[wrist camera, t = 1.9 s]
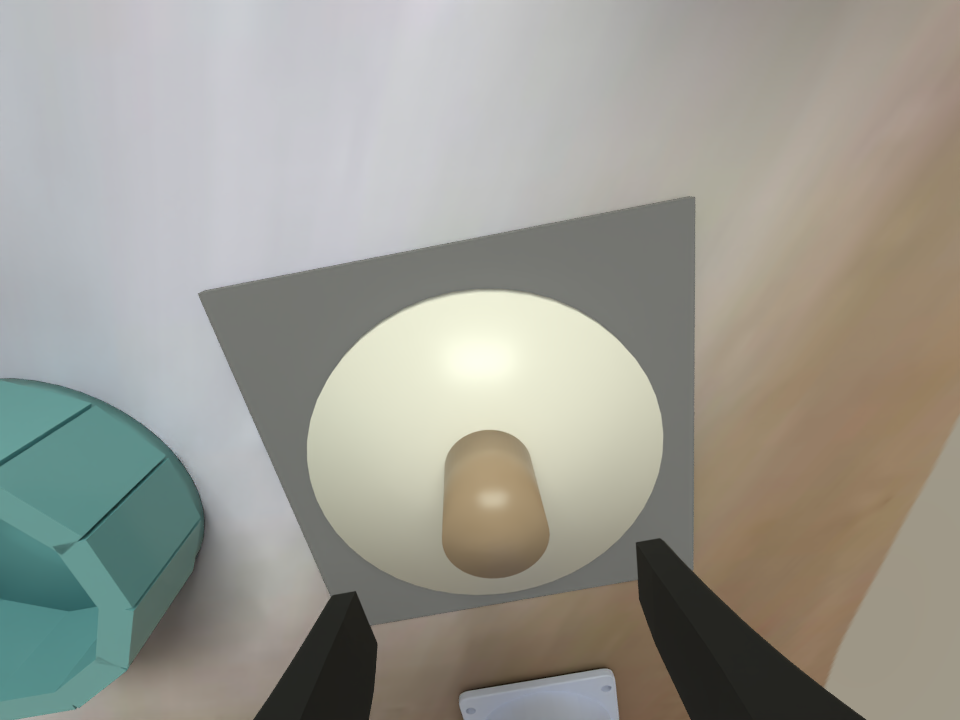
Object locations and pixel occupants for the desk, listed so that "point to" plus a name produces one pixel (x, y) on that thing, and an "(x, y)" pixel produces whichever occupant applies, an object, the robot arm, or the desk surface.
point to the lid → (484, 442)
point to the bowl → (83, 544)
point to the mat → (457, 267)
